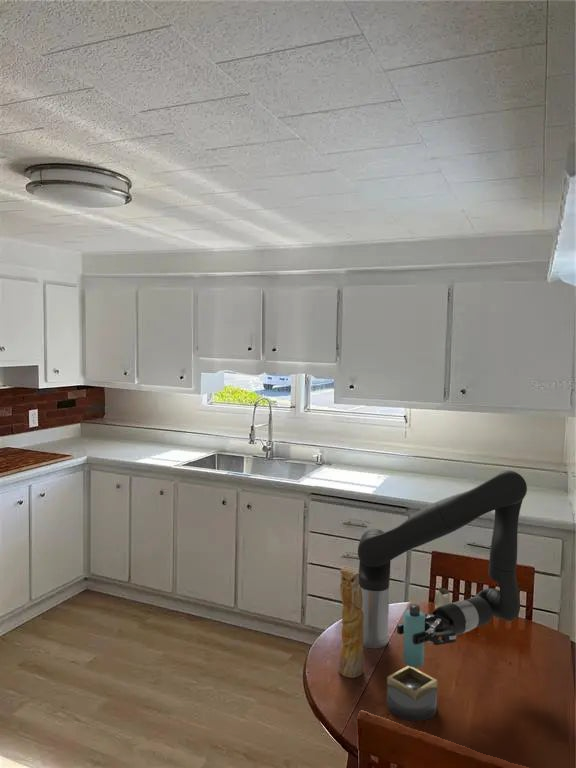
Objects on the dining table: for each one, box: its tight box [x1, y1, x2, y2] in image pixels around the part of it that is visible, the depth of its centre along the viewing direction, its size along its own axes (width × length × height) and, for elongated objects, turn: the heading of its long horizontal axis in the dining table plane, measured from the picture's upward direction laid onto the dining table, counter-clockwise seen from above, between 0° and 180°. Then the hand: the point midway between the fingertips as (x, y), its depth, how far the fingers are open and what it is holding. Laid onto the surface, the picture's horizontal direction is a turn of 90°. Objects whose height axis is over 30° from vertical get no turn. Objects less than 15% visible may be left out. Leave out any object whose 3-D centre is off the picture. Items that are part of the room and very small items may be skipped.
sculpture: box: [338, 568, 364, 679], centre depth 155 cm, size 7×9×30 cm
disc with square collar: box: [386, 665, 438, 722], centre depth 143 cm, size 12×12×7 cm
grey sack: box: [433, 587, 452, 610], centre depth 189 cm, size 9×8×10 cm
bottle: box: [402, 603, 426, 668], centre depth 142 cm, size 5×5×14 cm
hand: (406, 634), depth 140 cm, fingers closed on bottle, 5 cm apart
